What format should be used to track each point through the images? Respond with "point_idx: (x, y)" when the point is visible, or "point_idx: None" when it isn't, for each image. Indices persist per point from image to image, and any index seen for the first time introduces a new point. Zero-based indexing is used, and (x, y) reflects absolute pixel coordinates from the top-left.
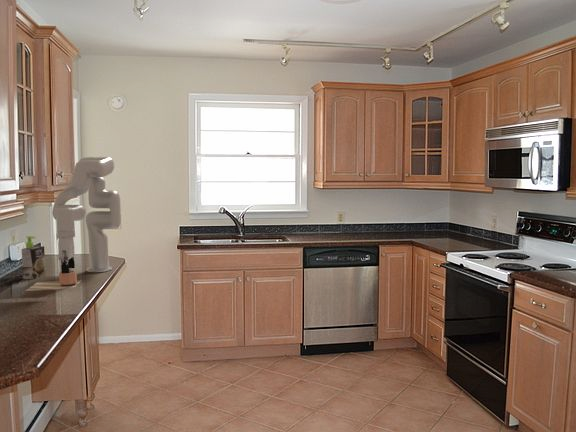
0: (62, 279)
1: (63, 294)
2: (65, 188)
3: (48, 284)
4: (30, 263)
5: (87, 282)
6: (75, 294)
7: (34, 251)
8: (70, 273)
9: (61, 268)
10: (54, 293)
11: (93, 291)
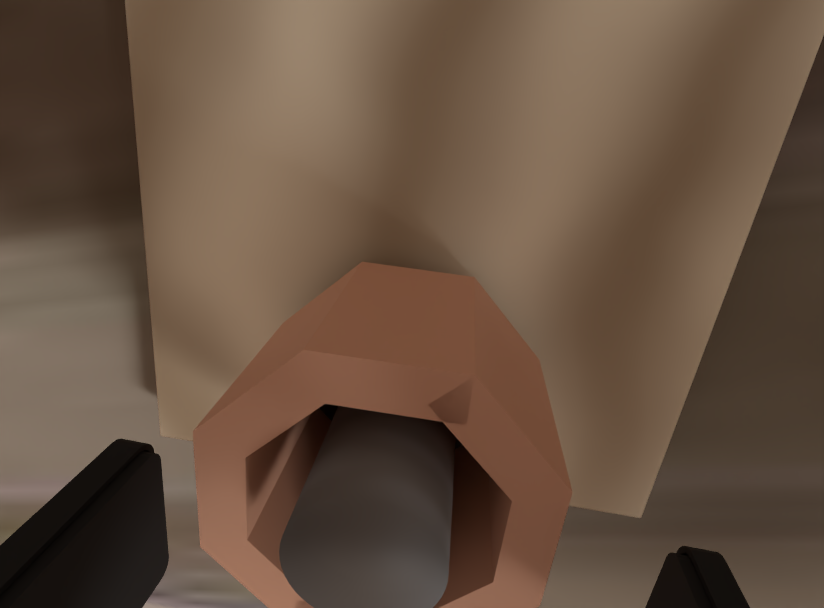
0: (256, 359)
1: (82, 314)
2: None
3: (549, 28)
4: None
5: (673, 539)
6: (79, 435)
7: None
8: (222, 564)
9: (21, 535)
10: (138, 196)
11: (192, 579)
